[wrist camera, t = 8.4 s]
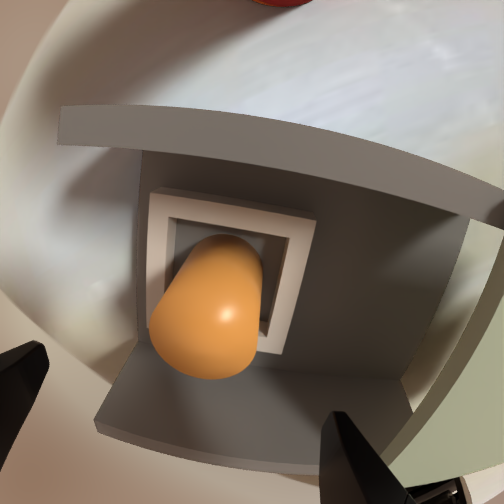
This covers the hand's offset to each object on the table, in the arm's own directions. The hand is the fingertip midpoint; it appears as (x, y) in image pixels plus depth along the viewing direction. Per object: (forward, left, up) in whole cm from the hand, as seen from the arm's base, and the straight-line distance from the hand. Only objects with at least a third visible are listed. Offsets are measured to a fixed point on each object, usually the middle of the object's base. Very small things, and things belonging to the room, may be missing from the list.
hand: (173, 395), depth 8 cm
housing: (0, -4, -10) cm, 11 cm away
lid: (0, -16, -4) cm, 16 cm away
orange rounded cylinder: (0, 0, -9) cm, 9 cm away
